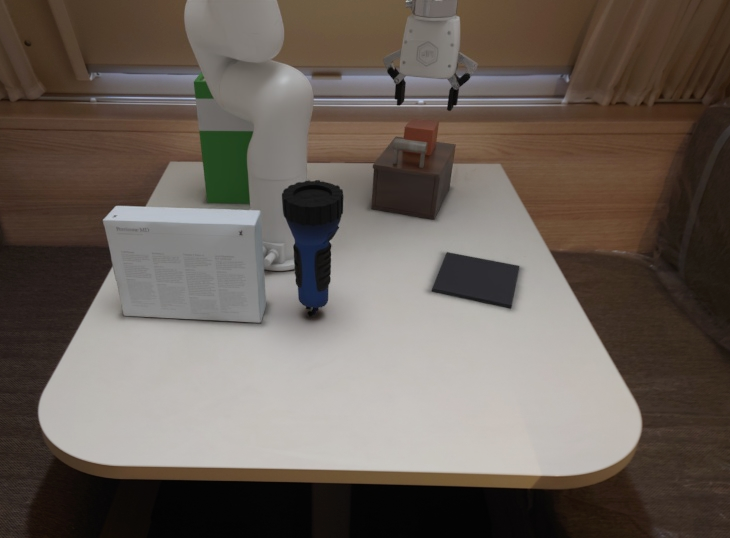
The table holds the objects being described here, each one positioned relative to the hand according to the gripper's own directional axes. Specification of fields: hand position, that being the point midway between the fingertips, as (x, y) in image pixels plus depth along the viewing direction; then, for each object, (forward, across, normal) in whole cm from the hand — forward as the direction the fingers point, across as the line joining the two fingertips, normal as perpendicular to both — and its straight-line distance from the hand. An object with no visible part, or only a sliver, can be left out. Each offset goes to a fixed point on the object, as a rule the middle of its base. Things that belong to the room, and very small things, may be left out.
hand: (425, 106), depth 110 cm
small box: (+8, 0, 0) cm, 8 cm away
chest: (+18, 0, -3) cm, 18 cm away
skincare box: (+18, -21, -53) cm, 60 cm away
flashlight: (+18, -4, -48) cm, 51 cm away
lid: (+9, 0, -3) cm, 10 cm away
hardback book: (+18, -31, -14) cm, 39 cm away
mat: (+18, +17, -29) cm, 38 cm away
